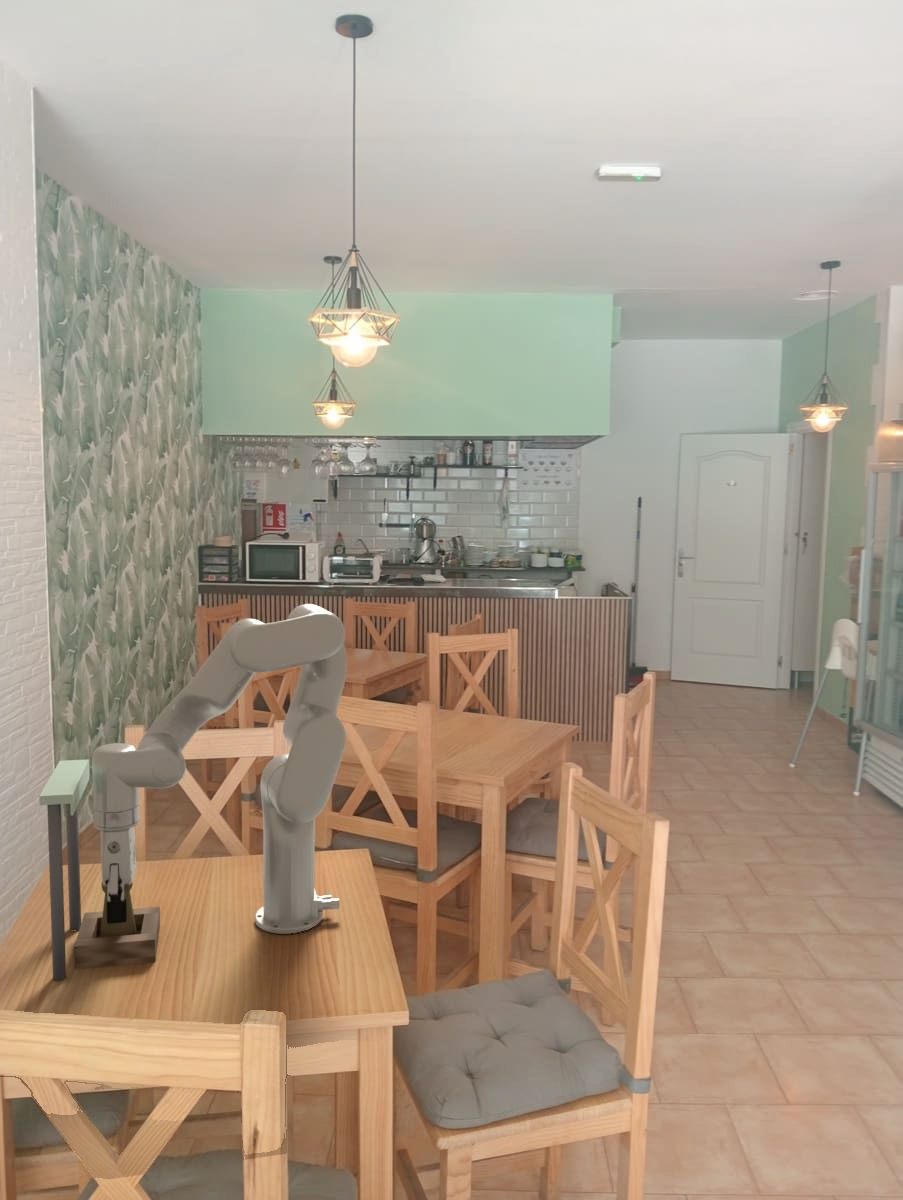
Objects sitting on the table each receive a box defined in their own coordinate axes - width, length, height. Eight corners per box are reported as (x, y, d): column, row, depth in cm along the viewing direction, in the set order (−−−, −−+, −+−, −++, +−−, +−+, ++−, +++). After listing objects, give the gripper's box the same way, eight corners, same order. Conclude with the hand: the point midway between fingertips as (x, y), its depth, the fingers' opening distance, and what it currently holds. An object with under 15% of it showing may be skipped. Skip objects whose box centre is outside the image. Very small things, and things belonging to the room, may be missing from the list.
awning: (93, 924, 176) (89, 759, 172) (78, 979, 157) (72, 794, 153) (64, 927, 175) (59, 760, 171) (45, 982, 155) (39, 796, 152)
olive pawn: (124, 943, 164) (123, 881, 162) (93, 939, 165) (91, 878, 164) (142, 927, 170) (141, 868, 168) (112, 923, 171) (110, 865, 169)
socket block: (159, 927, 175) (159, 906, 175) (155, 961, 163) (154, 939, 162) (85, 933, 172) (84, 912, 172) (74, 969, 160) (74, 946, 159)
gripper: (135, 831, 157) (136, 936, 160) (142, 798, 174) (144, 894, 176) (87, 834, 156) (89, 940, 158) (99, 801, 172) (101, 897, 174)
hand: (118, 915), depth 167 cm, fingers closed on olive pawn, 4 cm apart
